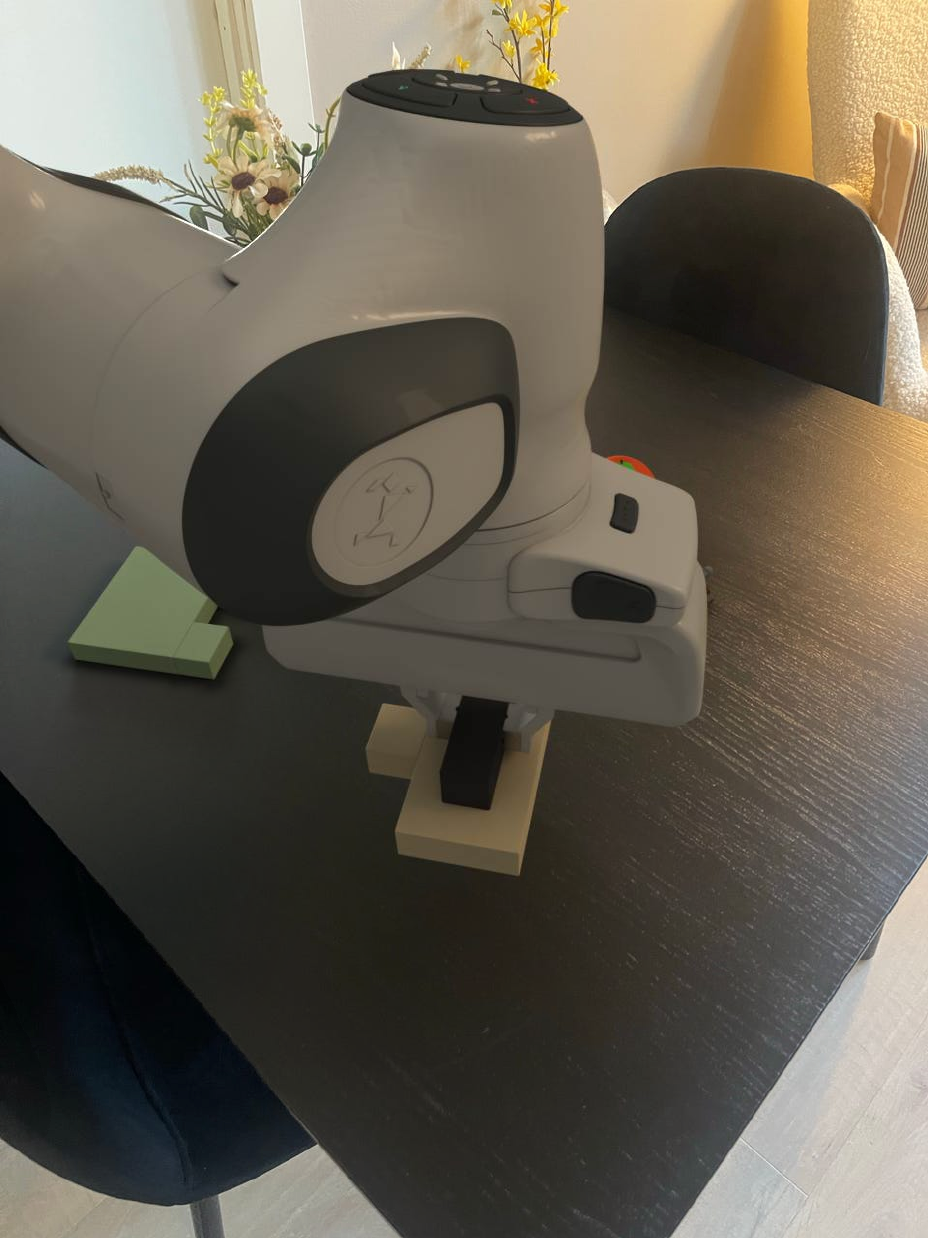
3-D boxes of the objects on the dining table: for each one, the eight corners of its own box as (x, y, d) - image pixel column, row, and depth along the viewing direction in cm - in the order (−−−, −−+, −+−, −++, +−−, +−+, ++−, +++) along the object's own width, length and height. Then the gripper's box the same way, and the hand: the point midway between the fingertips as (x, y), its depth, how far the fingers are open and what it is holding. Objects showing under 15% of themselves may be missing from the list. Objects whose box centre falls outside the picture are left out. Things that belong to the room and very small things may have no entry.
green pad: (214, 679, 74) (208, 662, 73) (75, 659, 76) (67, 642, 75) (268, 579, 83) (264, 561, 81) (141, 563, 85) (135, 545, 83)
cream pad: (519, 876, 45) (520, 823, 42) (342, 844, 47) (331, 790, 44) (557, 690, 54) (560, 634, 50) (406, 668, 55) (400, 612, 52)
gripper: (207, 537, 38) (267, 751, 48) (730, 604, 34) (680, 821, 44) (264, 449, 43) (309, 661, 52) (734, 500, 39) (688, 718, 48)
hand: (482, 735), depth 48 cm, fingers closed on cream pad, 2 cm apart
